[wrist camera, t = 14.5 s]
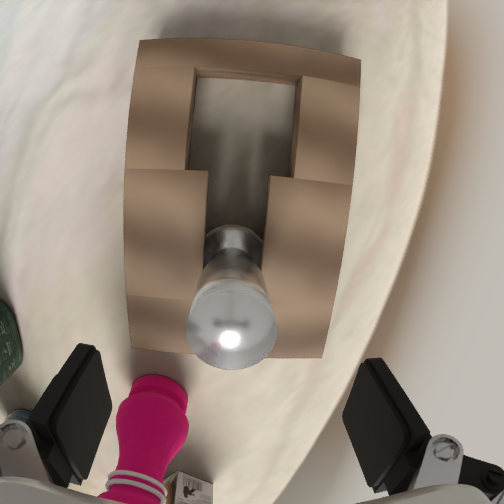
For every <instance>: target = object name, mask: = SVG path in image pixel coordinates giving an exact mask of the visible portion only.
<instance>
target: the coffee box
mask: <svg viewBox="0 0 504 504" xmlns="http://www.w3.org/2000/svg"><path fill="white" fill-rule="evenodd" d="M163 485H164V487H165V488H166V490H167V496H166V497H165V499H166V504H213V484H211V483H208V482H205V481H203V480H200V479H197V478H195V477H192V476H190V475H188V474H185V473H183V472H180V471H177V472H175V473H174V474H172V475H171V476H169V477H168V478H166V479H165V480H163Z"/></svg>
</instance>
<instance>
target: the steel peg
mask: <svg viewBox="0 0 504 504" xmlns="http://www.w3.org/2000/svg"><path fill="white" fill-rule="evenodd" d="M262 245H263V241H262V240H261V238H260V237H259V236H258V235H257V234H256V233H255V232H254V231H252V230H251V229H249V228H247V227H244V226H241V225H236V224H228V225H222V226H219V227H217V228H215V229H213V230H211V231H210V232H209V233H207V234H206V235H205V250H204V269H203V270H202V272H201V274H200V277H199V280H198V284H197V288H196V291H195V295H194V299H193V302H192V306H191V310H190V313H189V317H188V321H187V325H186V336H187V341H188V343H189V346H190V347H191V349H192V351H193V352H194V353H195V355H196V356H197V357H199V358H200V359H201V360H202V361H204V362H205V363H207V364H209V365H211V366H213V367H216V368H220V369H226V370H238V369H244V368H247V367H250V366H253V365H255V364H257V363H258V362H260V361H261V360H263V359H264V358H265V357H266V356H267V355H268V354H269V353H270V351H271V350H272V348H273V346H274V344H275V341H276V337H277V326H276V322H275V318H274V314H273V310H272V307H271V303H270V299H269V295H268V292H267V288H266V284H265V280H264V277H263V274H262V272H261V270H260V266H261V256H262Z"/></svg>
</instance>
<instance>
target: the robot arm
mask: <svg viewBox="0 0 504 504" xmlns="http://www.w3.org/2000/svg"><path fill="white" fill-rule="evenodd" d="M111 411H112V401H111V398H110V394H109V390H108V386H107V382H106V378H105V373H104V369H103V364H102V360H101V355H100V352H99V351H98V350H96V348H95V346H93V345H88V344H82V343H79V344H78V345H77V346H76V348H75V349H74V351H73V352H72V353H71V355H70V356H69V358H68V359H67V361H66V362H65V364H64V365H63V367H62V368H61V370H60V371H59V373H58V374H57V375H56V376H55V377H54V378H53V379H52V381H51V382H50V384H49V386H48V387H47V389H46V390H45V392H44V393H43V395H42V397H41V398H40V400H39V401H38V403H37V405H36V406H35V408H34V409H33V411H32V413H31V414H30V416H29V418H28V419H27V421H26V423H24V422H22V421H19V420H9V421H6V422H3V423H2V424H1V425H0V504H126V503H121V502H117V501H112V500H108V499H104V498H100V497H96V496H92V495H88V494H85V493H81V492H78V491H74V490H71V489H68V488H67V487H68V486H69V483H73V484H76V485H80V486H81V484H82V481H83V479H84V480H86V479H87V478H88V475H89V472H90V469H91V467H92V464H93V461H94V458H95V455H96V452H97V449H98V446H99V444H100V441H101V438H102V435H103V433H104V430H105V427H106V425H107V422H108V419H109V417H110V414H111ZM342 417H343V422H344V425H345V427H346V430H347V432H348V435H349V438H350V440H351V442H352V445H353V448H354V451H355V453H356V456H357V458H358V461H359V463H360V466H361V469H362V471H363V474H364V477H365V479H366V482H367V485H368V486H369V487H372V488H373V491H374V493H379V492H382V491H386V490H387V491H388V494H389V496H387V497H383V498H379V499H374V500H370V501H365V502H360V503H356V504H504V470H503V469H501V468H500V467H499V466H497V465H494V464H490V463H487V462H484V461H481V460H477V459H474V458H471V457H468V456H465V455H463V447H462V445H461V443H460V442H459V441H458V440H457V439H456V438H454V437H452V436H450V435H446V434H440V435H436V436H434V437H432V436H431V435H430V431H429V429H428V428H427V426H426V425H425V423H424V421H423V420H422V418H421V417H420V415H419V414H418V412H417V411H416V409H415V407H414V406H413V404H412V403H411V401H410V400H409V398H408V397H407V395H406V393H405V392H404V390H403V389H402V387H401V386H400V384H399V383H398V382H397V380H396V378H395V377H394V375H393V374H392V372H391V371H390V369H389V368H388V367H387V365H386V363H385V362H384V361H383V359H382V358H369V359H366V360H365V361H364V363H361V364H360V367H359V370H358V373H357V375H356V378H355V381H354V384H353V387H352V390H351V392H350V395H349V398H348V400H347V403H346V406H345V408H344V411H343V415H342Z"/></svg>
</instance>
